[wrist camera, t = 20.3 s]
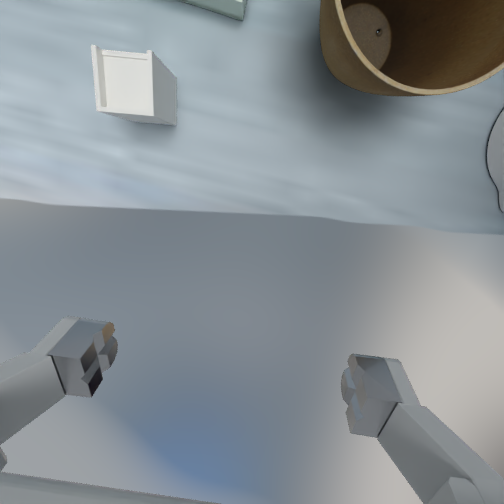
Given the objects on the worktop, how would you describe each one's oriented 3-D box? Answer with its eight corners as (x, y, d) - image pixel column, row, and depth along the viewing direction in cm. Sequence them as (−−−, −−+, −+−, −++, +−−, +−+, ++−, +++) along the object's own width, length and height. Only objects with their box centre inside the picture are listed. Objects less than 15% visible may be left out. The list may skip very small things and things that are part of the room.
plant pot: (281, 111, 34) (310, 77, 19) (304, -49, 29) (367, -270, 14) (402, 128, 35) (524, 108, 19) (443, -26, 30) (647, -211, 15)
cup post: (176, 125, 34) (153, 116, 26) (134, 121, 34) (96, 111, 25) (176, 77, 32) (151, 50, 24) (131, 73, 32) (90, 44, 24)
